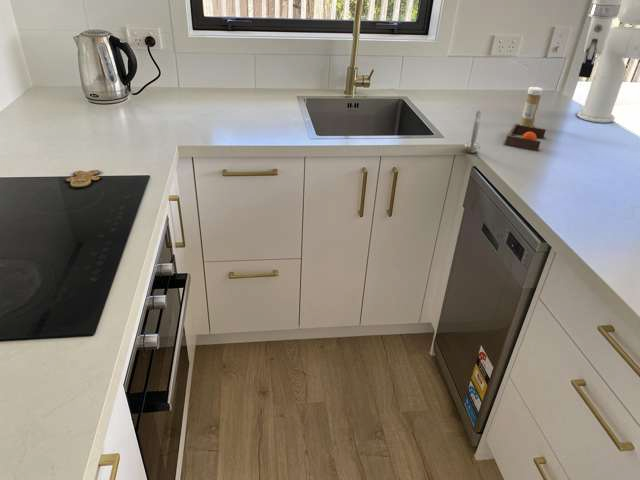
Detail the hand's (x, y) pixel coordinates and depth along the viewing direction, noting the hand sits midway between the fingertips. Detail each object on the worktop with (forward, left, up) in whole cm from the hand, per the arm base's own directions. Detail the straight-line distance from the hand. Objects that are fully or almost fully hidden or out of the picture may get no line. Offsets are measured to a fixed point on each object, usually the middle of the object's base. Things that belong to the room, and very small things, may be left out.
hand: (584, 76), depth 148 cm
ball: (+10, -10, -19) cm, 24 cm away
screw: (+26, -25, -21) cm, 41 cm away
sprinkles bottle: (-9, -14, -21) cm, 27 cm away
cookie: (+101, -108, -21) cm, 149 cm away
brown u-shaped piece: (+7, -12, -21) cm, 25 cm away
